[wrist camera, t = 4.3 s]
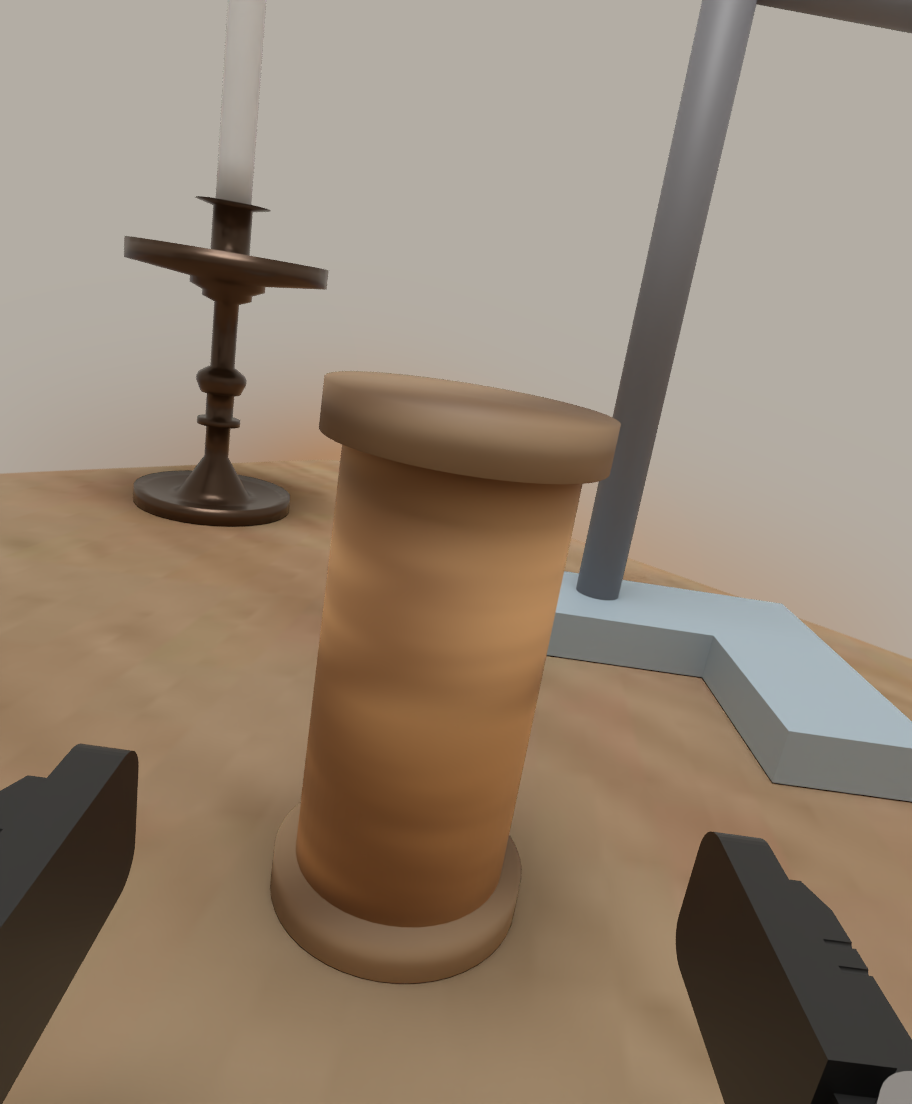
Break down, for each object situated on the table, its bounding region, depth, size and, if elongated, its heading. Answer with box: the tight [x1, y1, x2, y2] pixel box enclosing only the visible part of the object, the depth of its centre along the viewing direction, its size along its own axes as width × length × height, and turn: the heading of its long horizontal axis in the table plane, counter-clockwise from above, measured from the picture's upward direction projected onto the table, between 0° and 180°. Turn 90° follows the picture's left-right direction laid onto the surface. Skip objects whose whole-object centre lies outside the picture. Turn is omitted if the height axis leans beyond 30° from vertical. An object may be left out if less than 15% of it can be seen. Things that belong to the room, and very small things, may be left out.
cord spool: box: [270, 371, 621, 983], centre depth 18 cm, size 6×6×12 cm
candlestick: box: [124, 0, 328, 526], centre depth 43 cm, size 11×11×35 cm
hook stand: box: [547, 0, 912, 802], centre depth 29 cm, size 20×14×30 cm
